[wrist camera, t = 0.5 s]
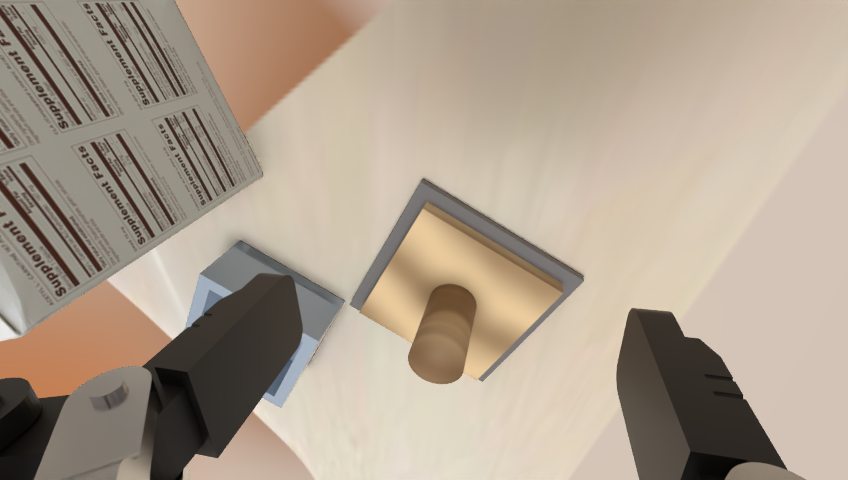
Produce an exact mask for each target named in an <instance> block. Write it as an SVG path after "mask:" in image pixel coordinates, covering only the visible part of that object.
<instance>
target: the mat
mask: <svg viewBox="0 0 848 480" xmlns="http://www.w3.org/2000/svg"><path fill="white" fill-rule="evenodd" d="M426 202H429V203H431V204H432V205H434V206H436V207H437V208H439V209H441V210H442V211H444V212H446V213H447V214H449V215H451V216H452V217H454V218H456V219H457V220H459V221H461V222H462V223H464V224H465V225H467V226H469V227H470V228H472V229H474V230H475V231H477V232H479V233H480V234H482V235H484V236H485V237H487V238H489V239H490V240H492V241H494V242H495V243H497V244H499V245H500V246H502V247H504V248H505V249H507V250H509V251H510V252H512V253H513V254H515V255H517V256H518V257H520V258H522V259H523V260H525V261H527V262H528V263H530V264H532V265H533V266H535V267H537V268H538V269H540V270H542V271H543V272H545V273H547V274H548V275H550V276H552V277H553V278H555V279H557V280H558V281H560V282H561V283H563V294H562V295H561V296H560V297H559V298H558V299H557V300H556V301H555V302H554V303H553V304H552V305H551V306H550V307H549V308H548V309H547V310H546V311H545V312H544V313H543V314H542V315H541V316H540V317H539V318H538V319H537V320H536V321H535V322H534V323H533V324H532V325H531V326H530V327H529V328H528V329H527V330H526V331H525V332H524V333H523V334H522V335H521V336H520V337H519V338H518V339H517V340H516V341H515V342H514V343H513V344H512V346H511V347H510V348H509V349H508V350H507V351H506V352H505V353H504V354H503V355H502V356H501V357H500V358H499V359H498V360H497V361H496V362H495V363H494V364H493V365H492V366H491V367H490V368H489V369H488V370H487V371H486V372H485V373H484V374H483V375H482V376H481V377H480V378H479V380H480V381H482V382H483V381H484V380H485V379H486V378H487V377H488V376H489V375H490V374H491V373H492V372H493V371H494V370H495V369H496V368H497V367H498V366H499V365H500V364H501V363H502V362H503V361H504V360H505V359H506V358H507V357H508V356H509V355H510V354H511V353H512V352H513V351H514V350H515V349H516V348H517V347H518V346H519V345H520V344H521V343H522V342H523V341H524V340H525V339H526V338H527V337H528V336H529V335H530V334H531V333H532V332H533V331H534V330H535V329H536V328H537V327H538V326H539V325H540V324H541V323H542V322H543V321H544V320H545V319H546V318H547V317H548V316H549V315H550V314H551V313H552V312H553V311H554V310H555V309H556V308H557V307H558V306H559V305H560V304H561V303H562V302H563V301H564V300H565V299H566V298H567V297H568V296H569V295H570V294H571V293H572V292H573V291H574V290H575V289H576V288H577V287H578V286H579V285H580V284H581V283H582V282H583V281H584V278H583V276H582V275H581V274H579V273H577V272H576V271H574V270H572V269H571V268H569V267H568V266H566V265H564V264H563V263H561V262H559V261H558V260H556V259H554V258H553V257H551V256H549V255H548V254H546V253H545V252H543V251H541V250H540V249H538V248H536V247H535V246H533V245H531V244H530V243H528V242H526V241H525V240H523V239H521V238H520V237H518V236H517V235H515V234H513V233H512V232H510V231H508V230H507V229H505V228H503V227H502V226H500V225H498V224H497V223H495V222H493V221H492V220H490V219H489V218H487V217H485V216H484V215H482V214H480V213H479V212H477V211H475V210H474V209H472V208H470V207H469V206H467V205H465V204H464V203H462V202H461V201H459V200H457V199H456V198H454V197H452V196H451V195H449V194H447V193H446V192H444V191H442V190H441V189H439V188H438V187H436V186H434V185H433V184H431V183H429V182H428V181H426V180H424V179H423V180H422V181H421V183H420V185H419V186H418V188H417V190H416V192H415V193H414V195H413V197H412V198H411V200H410V202H409V204H408V205H407V207H406V209H405V210H404V212H403V214H402V215H401V217H400V219H399V221H398V222H397V224H396V226H395V227H394V229H393V231H392V233H391V234H390V236H389V238H388V239H387V241H386V243H385V245H384V246H383V248H382V250H381V251H380V253H379V255H378V256H377V258H376V260H375V262H374V263H373V265H372V267H371V268H370V270H369V272H368V274H367V275H366V277H365V279H364V280H363V282H362V284H361V286H360V287H359V289H358V291H357V292H356V294H355V296H354V297H353V299H352V301H351V303H350V304H349V305H351V306H353V307H354V308H356V309H358V310H361V308H362V306H363V305H364V303H365V301H366V300H367V298H368V296H369V295H370V293H371V292H372V290H373V288H374V287H375V285H376V283H377V282H378V280H379V279H380V277H381V275H382V274H383V272H384V270H385V269H386V267H387V265H388V264H389V262H390V261H391V259H392V257H393V256H394V254H395V252H396V251H397V249H398V248H399V246H400V244H401V243H402V241H403V239H404V238H405V236H406V235H407V233H408V231H409V230H410V228H411V226H412V225H413V223H414V222H415V220H416V218H417V217H418V215H419V213H420V212H421V210H422V208H423V207H424V205H425V204H426Z"/></svg>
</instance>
